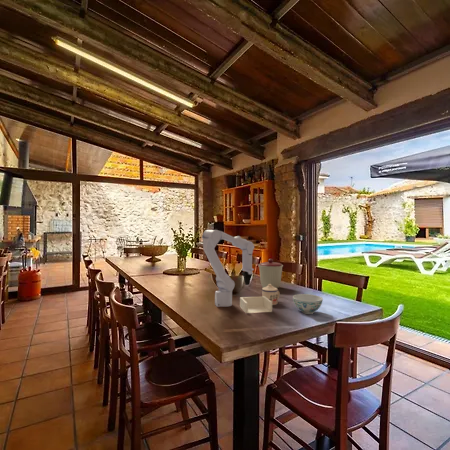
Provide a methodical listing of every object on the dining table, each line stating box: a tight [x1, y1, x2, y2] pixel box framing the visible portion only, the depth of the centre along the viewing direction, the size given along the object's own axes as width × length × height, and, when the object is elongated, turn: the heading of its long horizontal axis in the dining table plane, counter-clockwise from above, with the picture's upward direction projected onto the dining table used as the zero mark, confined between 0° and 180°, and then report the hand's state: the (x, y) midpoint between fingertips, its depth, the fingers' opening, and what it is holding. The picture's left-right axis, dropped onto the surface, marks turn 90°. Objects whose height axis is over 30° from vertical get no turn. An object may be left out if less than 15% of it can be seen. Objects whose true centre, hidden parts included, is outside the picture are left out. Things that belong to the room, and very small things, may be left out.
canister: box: [258, 258, 284, 289], centre depth 210 cm, size 18×18×21 cm
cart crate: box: [239, 295, 273, 314], centre depth 151 cm, size 14×12×6 cm
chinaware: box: [292, 293, 324, 315], centre depth 150 cm, size 15×15×8 cm
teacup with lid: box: [261, 284, 281, 306], centre depth 165 cm, size 12×9×12 cm
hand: (247, 284), depth 168 cm, fingers closed
